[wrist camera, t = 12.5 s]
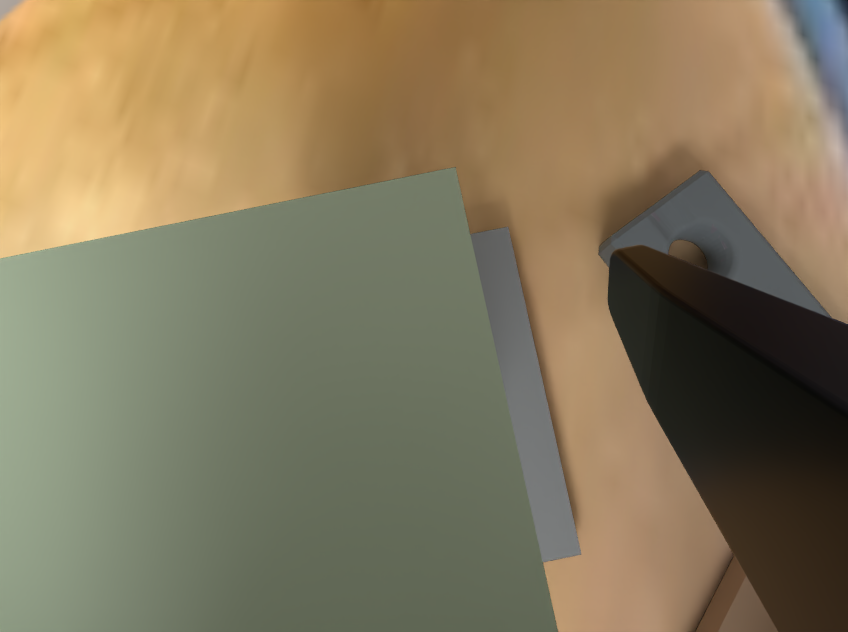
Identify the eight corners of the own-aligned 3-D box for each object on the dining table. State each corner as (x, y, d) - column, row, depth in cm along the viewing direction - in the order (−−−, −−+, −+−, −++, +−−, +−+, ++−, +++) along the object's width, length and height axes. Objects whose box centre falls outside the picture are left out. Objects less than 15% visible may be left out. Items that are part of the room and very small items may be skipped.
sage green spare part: (469, 476, 18) (574, 704, 5) (320, 507, 17) (7, 825, 5) (439, 329, 18) (455, 167, 5) (294, 358, 18) (-48, 269, 5)
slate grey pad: (573, 546, 18) (581, 554, 17) (253, 611, 18) (242, 623, 17) (504, 235, 20) (508, 226, 19) (205, 294, 19) (192, 288, 18)
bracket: (796, 512, 19) (840, 525, 17) (589, 253, 20) (607, 237, 18) (889, 436, 19) (942, 441, 17) (680, 186, 20) (707, 163, 18)
